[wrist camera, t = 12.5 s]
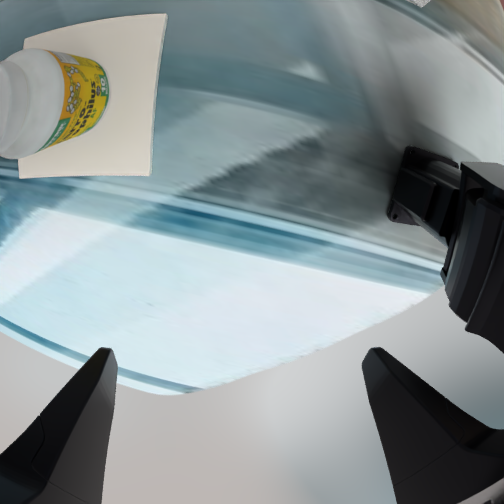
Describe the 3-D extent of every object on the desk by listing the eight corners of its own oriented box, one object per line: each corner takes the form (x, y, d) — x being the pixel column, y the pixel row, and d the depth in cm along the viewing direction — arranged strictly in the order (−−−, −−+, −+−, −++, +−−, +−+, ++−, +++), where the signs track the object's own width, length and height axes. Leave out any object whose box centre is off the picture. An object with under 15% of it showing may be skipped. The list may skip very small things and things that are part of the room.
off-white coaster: (168, 16, 13) (166, 13, 12) (151, 173, 18) (149, 176, 17) (30, 39, 11) (24, 38, 10) (24, 175, 16) (19, 178, 15)
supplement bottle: (69, 49, 12) (-27, 33, 4) (129, 75, 14) (47, 59, 5) (36, 120, 14) (-63, 151, 5) (90, 149, 16) (1, 198, 7)
